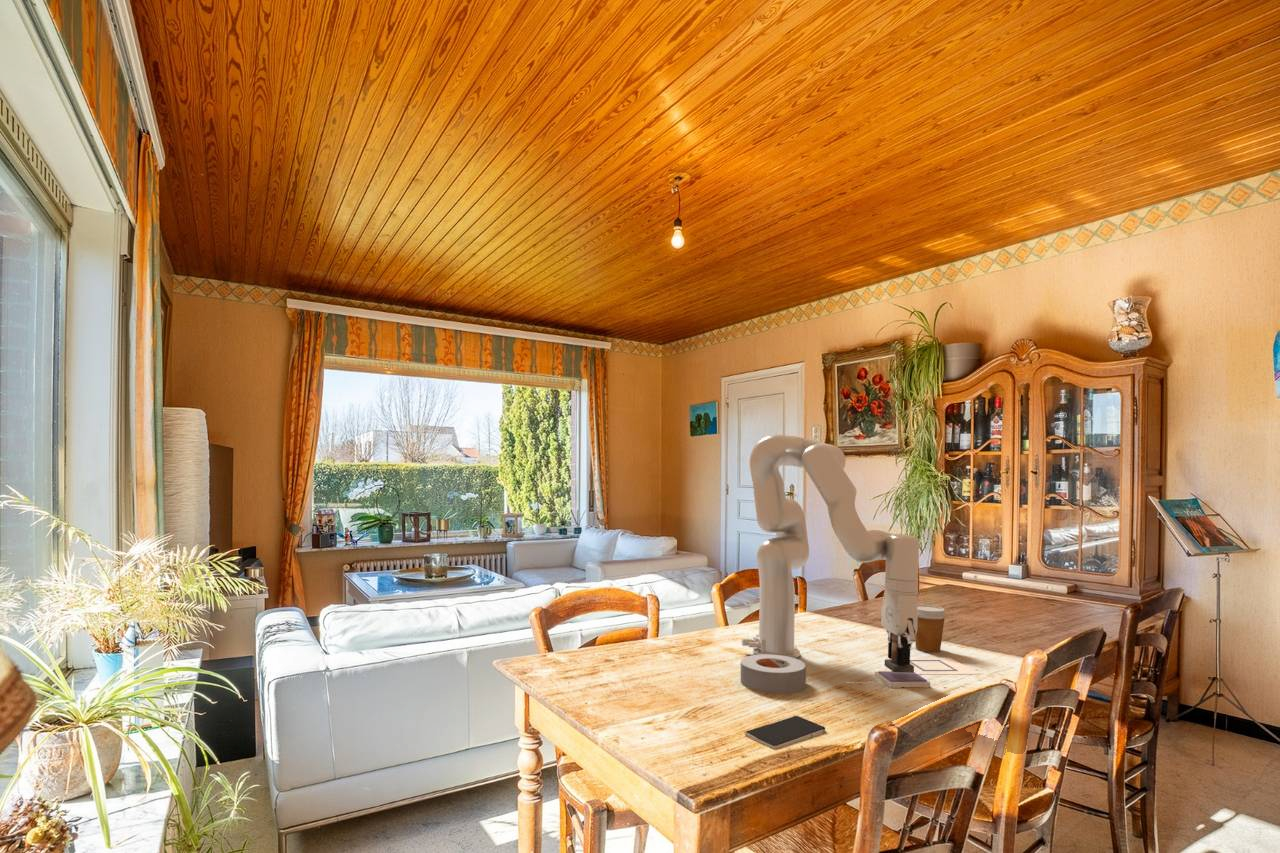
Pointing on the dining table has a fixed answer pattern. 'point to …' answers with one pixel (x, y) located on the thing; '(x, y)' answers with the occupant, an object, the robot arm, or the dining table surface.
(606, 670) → the dining table surface
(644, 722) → the dining table surface
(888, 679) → the ink pad
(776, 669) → the tape roll
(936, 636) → the disposable coffee cup
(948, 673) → the sheet
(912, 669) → the stamp
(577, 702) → the dining table surface
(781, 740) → the smartphone
